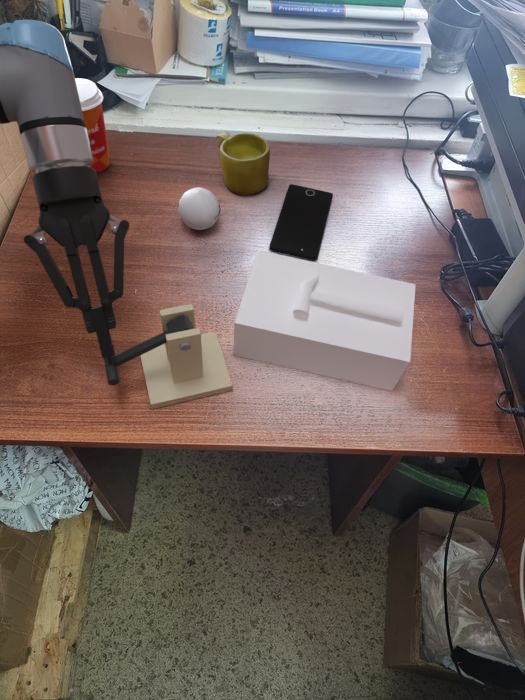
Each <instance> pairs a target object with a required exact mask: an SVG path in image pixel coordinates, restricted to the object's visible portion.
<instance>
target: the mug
mask: <svg viewBox="0 0 525 700" xmlns="http://www.w3.org/2000/svg"><path fill="white" fill-rule="evenodd" d="M215 138H216V143H217V146H218V148H219V160H220V166H221V171H222V176H223V181H224V183H225V185H226V186H227V188H229V189H228V190H231V191H232V192H234V193H235V194H238V195H243V196H246V195H254V194H257V193H259V192H261V191H263V190H264V189H265V187H267V185H268V183H269V179H270V174H269V170H270V157H271V146H270V144H269V142H268V141H267V140H266V139H265V138H264V137H263V136H260V135H258V134H256V133H251V132H241V133H236V134H234V135H232V136H231V134H230V133H229V132H227V131H223V132H221V133H219V134H217V135H216V137H215Z"/></svg>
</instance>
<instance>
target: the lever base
mask: <svg viewBox="0 0 525 700" xmlns="http://www.w3.org/2000/svg"><path fill="white" fill-rule="evenodd" d="M159 315H160V316H159V317H160V321H161V328H162V333H163V332H165V331H167V326H166V323H168V322H170V321H172V320H174V319H176V318H178V317H180V316H182V315H185V316H186V317H187V318H188V319H189V320H190V321H191V322H192V324H193V327H194V329H190V330H185V331H180V332H176V333H171V334H166V341H167V343H165V344H163V345H161V346H159V347H157V348H154V349H152V350H150V351H148V352H146V353H144V354H142V355H140V361H141V365H142V371H143V376H144V380H145V385H146V389H147V395H148V398H149V400H148V401H149V404H150V408H151V410H154V409H159V408H163V407H166V406H167V407H168V406H171V405H175V404H180V403H184V402H189V401H193V400H197V399H202V398H205V397H209V396H215V395H218V394H222V393H226V392H231V391H233V387H234V386H233V385H234V384H233V382H232V379H231V376H230V373H229V370H228V369H229V368H228V366H227V363H226V360H225V356H224V353H223V349H222V347H221V344H220V341H219V337H218V334H217V331H216V330H215V331H210V332H206V333H202V332H201V328H200V327H196V319H195V318H196V317H195V308H194V305H193V303H190V304H183V305H178V306H174V307H169V308H164V309H159Z"/></svg>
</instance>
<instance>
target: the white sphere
mask: <svg viewBox="0 0 525 700" xmlns="http://www.w3.org/2000/svg"><path fill="white" fill-rule="evenodd" d="M177 210H178V214H179V217H180V220H181V221H182V222H183V224H184V225H186V226H187V227H188V228H189V229H193V230H197V231H202V230H203V231H204V230H206V229H209V228H211V227H212V226H213V225H214V224H215V223H216V222H217V220H218V218H219V217H220V213H221V205H220V203H219V200H218V198H217V196H215V194H214V193H213V192H212V191H211V190H209V189H207V188H204V187H193V188H190V189H188V190H186V191H185V192H184V193H183V194H182V196H181V197H180V199H179V202H178V209H177Z"/></svg>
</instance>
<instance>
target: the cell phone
mask: <svg viewBox="0 0 525 700" xmlns="http://www.w3.org/2000/svg"><path fill="white" fill-rule="evenodd" d="M333 196H334V193H332V192H329V191H326V190H321V189H316V188H312V187H307V186H302V185H298V184H294V183H292V184H291V183H290V184H289V185H288V187H287V190H286V194H285V197H284V200H283V203H282V206H281V209H280V212H279V215H278V218H277V221H276V224H275V228H274V230H273V233H272V237H271V239H270V240H271V241H270V242H269V247H268V249H269V251H271V252H274V253H278V254H282V255H285V256H286V255H287V256H289V257H294V258H298V259H302V260H307V261H312V262H315V261H317V260H318V258H319V254H320V249H321V245H322V242H323V238H324V234H325V229H326V227H327V226H326V225H327V223H328V217H329V215H330V214H329V213H330V211H331V205H332V201H333Z"/></svg>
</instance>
